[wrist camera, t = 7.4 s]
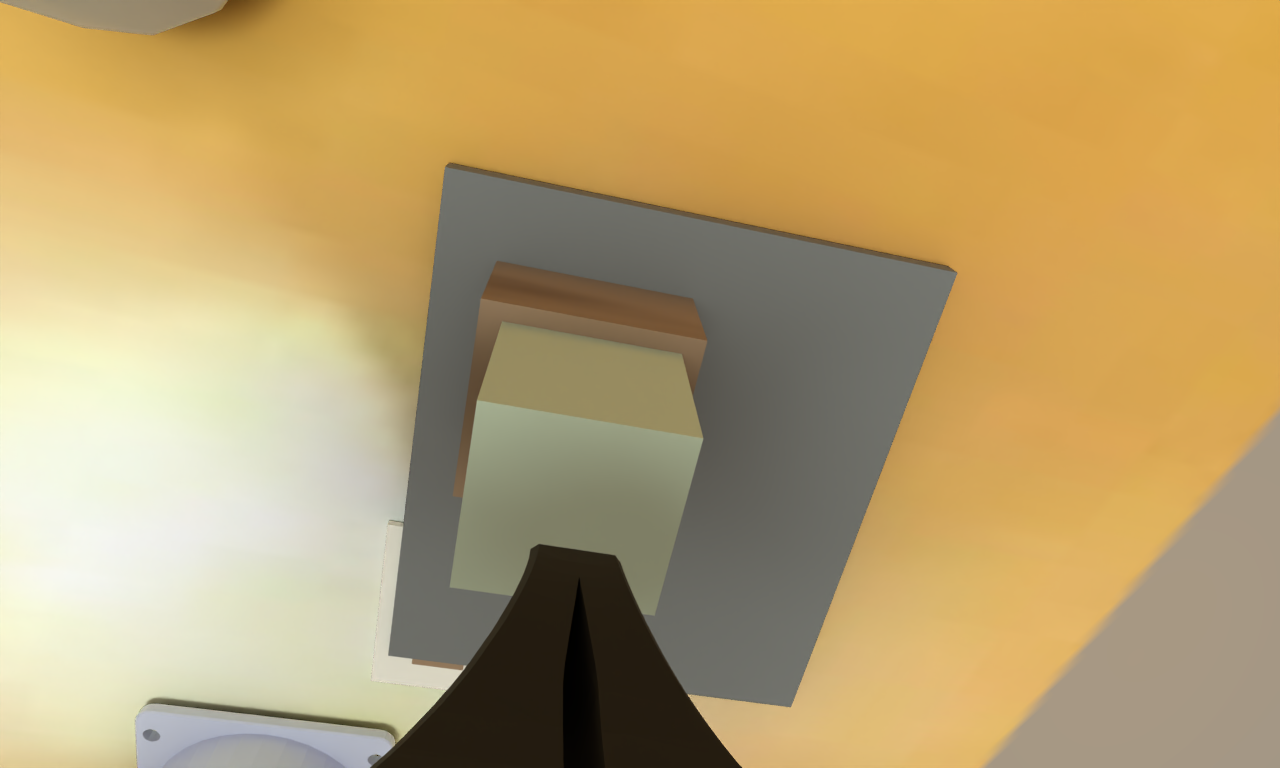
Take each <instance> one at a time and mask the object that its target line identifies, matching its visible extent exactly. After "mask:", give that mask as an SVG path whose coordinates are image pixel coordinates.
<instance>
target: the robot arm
mask: <svg viewBox="0 0 1280 768" xmlns="http://www.w3.org/2000/svg"><path fill="white" fill-rule="evenodd" d="M135 730H136V752H137V768H742V767H741V766H740V765H739V764H738V763H737V762H736V760H735V759H734V758H733V757H732V755H731V754H730V753H729V752H728V750H727V749H726V748H725V747H724V746H723V744H722V743H721V742H720V740H719V739H718V738H717V736H716V735H715V734H714V732H713V731H712V730H711V728H710V727H709V726H708V724H707V723H706V722H705V720H704V719H703V717H702V716H701V714H700V713H699V711H698V710H697V709H696V707H695V706H694V704H693V703H692V701H691V700H690V698H689V697H688V695H687V693H686V692H685V690H684V689H683V687H682V685H681V684H680V682H679V681H678V679H677V677H676V676H675V674H674V672H673V671H672V669H671V667H670V666H669V664H668V662H667V660H666V659H665V657H664V655H663V653H662V651H661V649H660V648H659V646H658V644H657V642H656V640H655V638H654V636H653V634H652V633H651V631H650V629H649V627H648V625H647V623H646V621H645V619H644V617H643V615H642V613H641V610H640V608H639V606H638V604H637V602H636V600H635V597H634V595H633V593H632V590H631V588H630V586H629V583H628V581H627V578H626V576H625V573H624V571H623V568H622V565H621V563H620V561H619V560H618V558H617V557H616V556H615V555H610V554H604V553H597V552H590V551H583V550H577V549H570V548H563V547H557V546H550V545H543V544H538V545H536V546H535V547H533V548H531V549H530V555H529V560H528V563H527V566H526V568H525V571H524V573H523V576H522V578H521V580H520V582H519V584H518V586H517V588H516V590H515V592H514V594H513V596H512V598H511V600H510V601H509V603H508V605H507V606H506V608H505V610H504V611H503V613H502V615H501V617H500V618H499V620H498V622H497V623H496V625H495V626H494V628H493V630H492V631H491V633H490V634H489V635H488V637H487V638H486V640H485V641H484V642H483V644H482V645H481V647H480V648H479V650H478V651H477V652H476V654H475V655H474V657H473V658H472V659H471V661H470V662H469V664H468V665H467V666H466V667H465V669H464V670H463V671H462V672H461V674H460V675H459V676H458V678H457V679H456V680H455V681H454V682H453V684H452V685H451V686H450V687H449V688H448V690H447V691H446V692H445V693H444V694H443V695H442V697H441V698H440V699H439V700H438V701H437V702H436V703H435V705H434V706H433V707H432V708H431V709H430V710H429V711H428V712H427V713H426V714H425V715H424V716H423V717H422V718H421V719H420V720H419V721H418V722H417V724H416V725H415V726H414V727H413V728H412V729H411V730H410V731H409V732H408V733H407V734H406V735H405V736H404V737H403V738H402V739H401V740H400V741H399V742H398V743H397V744H396V745H395V738H394V737H393V735H392V734H390V733H389V732H387V731H385V730H380V729H372V728H363V727H354V726H346V725H337V724H329V723H320V722H311V721H303V720H294V719H286V718H277V717H268V716H260V715H251V714H242V713H234V712H225V711H217V710H208V709H199V708H191V707H182V706H174V705H165V704H148V705H145V706H144V707H143V708H142V709H141V710H140V711H139V713H138V714H137V716H136V719H135ZM154 730H155V731H154ZM376 755H380V756H376Z"/></svg>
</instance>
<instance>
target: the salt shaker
mask: <svg viewBox="0 0 1280 768" xmlns="http://www.w3.org/2000/svg"><path fill="white" fill-rule="evenodd" d="M227 1H228V0H0V2H2V3H5V4H8V5H11V6H14V7H18V8H21V9H24V10H27V11H31V12H34V13H37V14H40V15H44V16H47V17H50V18H53V19H56V20H60V21H63V22H66V23H69V24H73V25H76V26H79V27H82V28H89V29H99V30H108V31H117V32H126V33H135V34H145V35H155V34H158V33H161V32H163V31H166V30H169V29H172V28H174V27H177V26H180V25H183V24H185V23H188V22H191V21H194V20H196V19H199V18H202V17H205V16H208V15H210V14H213V13H215V12H217V11H220V10H222V8H223V7H224V6H225V4H226V3H227Z"/></svg>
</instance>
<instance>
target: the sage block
mask: <svg viewBox="0 0 1280 768" xmlns="http://www.w3.org/2000/svg"><path fill="white" fill-rule="evenodd" d="M702 442H703V435H702V431H701V427H700V423H699V419H698V415H697V411H696V407H695V404H694V400H693V396H692V392H691V388H690V384H689V380H688V376H687V372H686V368H685V364H684V360H683V357H682V354H679V353H673V352H668V351H662V350H657V349H651V348H646V347H640V346H635V345H630V344H624V343H619V342H613V341H608V340H602V339H597V338H591V337H586V336H580V335H575V334H569V333H564V332H558V331H553V330H547V329H542V328H536V327H531V326H525V325H520V324H514V323H509V322H503V321H502V323H501V326H500V330H499V333H498V336H497V339H496V342H495V345H494V348H493V352H492V355H491V358H490V361H489V364H488V367H487V370H486V374H485V377H484V380H483V383H482V386H481V389H480V392H479V396H478V399H477V404H476V411H475V417H474V424H473V431H472V438H471V445H470V451H469V458H468V465H467V472H466V479H465V485H464V492H463V499H462V506H461V513H460V519H459V526H458V533H457V540H456V547H455V554H454V560H453V567H452V574H451V581H450V587H451V588H458V589H465V590H473V591H480V592H487V593H494V594H501V595H509V596H513V594H514V592H515V590H516V588H517V586H518V584H519V582H520V580H521V578H522V576H523V573H524V571H525V568H526V566H527V563H528V560H529V555H530V549H531V548H533V547H535V546H536V545H538V544H543V545H550V546H557V547H563V548H570V549H577V550H583V551H590V552H597V553H604V554H610V555H615V556H616V557H617V558H618V560H619V561H620V563H621V565H622V568H623V571H624V573H625V576H626V578H627V581H628V583H629V586H630V588H631V590H632V593H633V595H634V597H635V600H636V602H637V604H638V606H639V608H640V610H641V613H642V614H646V615H653V616H655V612H656V609H657V605H658V602H659V598H660V594H661V591H662V587H663V583H664V580H665V576H666V572H667V569H668V565H669V562H670V558H671V554H672V551H673V547H674V543H675V540H676V536H677V533H678V529H679V525H680V522H681V518H682V514H683V511H684V507H685V504H686V500H687V496H688V493H689V489H690V485H691V482H692V478H693V475H694V471H695V467H696V464H697V460H698V456H699V453H700V449H701V445H702Z"/></svg>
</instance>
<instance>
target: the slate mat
mask: <svg viewBox="0 0 1280 768" xmlns="http://www.w3.org/2000/svg"><path fill="white" fill-rule="evenodd" d="M496 261H501V262H506V263H512V264H517V265H522V266H527V267H532V268H537V269H543V270H548V271H553V272H558V273H563V274H568V275H574V276H579V277H584V278H589V279H594V280H600V281H605V282H610V283H615V284H620V285H625V286H631V287H636V288H641V289H646V290H651V291H656V292H662V293H667V294H672V295H677V296H682V297H687V298H693V300H694V303H695V306H696V309H697V312H698V315H699V318H700V321H701V324H702V326H703V329H704V332H705V335H706V338H707V345H706V348H705V352H704V356H703V360H702V363H701V367H700V371H699V375H698V378H697V382H696V386H695V390H694V394H693V400H694V404H695V407H696V411H697V415H698V419H699V423H700V427H701V431H702V435H703V442H702V445H701V449H700V453H699V456H698V460H697V464H696V467H695V471H694V475H693V478H692V482H691V485H690V489H689V493H688V496H687V500H686V504H685V507H684V511H683V514H682V518H681V522H680V525H679V529H678V533H677V536H676V540H675V543H674V547H673V551H672V554H671V558H670V562H669V565H668V569H667V572H666V576H665V580H664V583H663V587H662V591H661V594H660V598H659V602H658V605H657V609H656V612H655V616H653V615H646V614H642V615H643V617H644V619H645V621H646V623H647V625H648V627H649V629H650V631H651V633H652V634H653V636H654V638H655V640H656V642H657V644H658V646H659V648H660V649H661V651H662V653H663V655H664V657H665V659H666V660H667V662H668V664H669V666H670V667H671V669H672V671H673V672H674V674H675V676H676V677H677V679H678V681H679V682H680V684H681V685H682V687H683V689H684V690H685V692H686V693H687V694H692V695H699V696H707V697H715V698H723V699H731V700H738V701H746V702H754V703H762V704H770V705H778V706H785V707H791V706H792V703H793V701H794V698H795V695H796V693H797V690H798V687H799V685H800V682H801V680H802V677H803V674H804V672H805V669H806V667H807V664H808V661H809V659H810V656H811V654H812V651H813V648H814V646H815V643H816V640H817V638H818V635H819V633H820V630H821V627H822V625H823V622H824V620H825V617H826V614H827V612H828V609H829V607H830V604H831V601H832V599H833V596H834V594H835V591H836V588H837V586H838V583H839V580H840V578H841V575H842V573H843V570H844V567H845V565H846V562H847V560H848V557H849V554H850V552H851V549H852V547H853V544H854V541H855V539H856V536H857V533H858V531H859V528H860V526H861V523H862V520H863V518H864V515H865V513H866V510H867V507H868V505H869V502H870V500H871V497H872V494H873V492H874V489H875V487H876V484H877V481H878V479H879V476H880V473H881V471H882V468H883V466H884V463H885V460H886V458H887V455H888V453H889V450H890V447H891V445H892V442H893V440H894V437H895V434H896V432H897V429H898V427H899V424H900V421H901V419H902V416H903V413H904V411H905V408H906V406H907V403H908V400H909V398H910V395H911V393H912V390H913V387H914V385H915V382H916V380H917V377H918V374H919V372H920V369H921V366H922V364H923V361H924V359H925V356H926V353H927V351H928V348H929V346H930V343H931V340H932V338H933V335H934V333H935V330H936V327H937V325H938V322H939V320H940V317H941V314H942V312H943V309H944V306H945V304H946V301H947V299H948V296H949V293H950V291H951V288H952V286H953V283H954V280H955V278H956V275H957V272H956V271H954V270H953V269H951V268H950V267H948V266H944V265H939V264H934V263H930V262H925V261H920V260H915V259H910V258H906V257H901V256H896V255H891V254H886V253H881V252H877V251H872V250H867V249H862V248H857V247H853V246H848V245H843V244H838V243H833V242H828V241H824V240H819V239H814V238H809V237H804V236H800V235H795V234H790V233H785V232H780V231H775V230H771V229H766V228H761V227H756V226H751V225H747V224H742V223H737V222H732V221H727V220H722V219H718V218H713V217H708V216H703V215H698V214H693V213H689V212H684V211H679V210H674V209H669V208H665V207H660V206H655V205H650V204H645V203H640V202H636V201H631V200H626V199H621V198H616V197H612V196H607V195H602V194H597V193H592V192H587V191H583V190H578V189H573V188H568V187H563V186H559V185H554V184H549V183H544V182H539V181H534V180H530V179H525V178H520V177H515V176H510V175H505V174H501V173H496V172H491V171H486V170H481V169H477V168H472V167H467V166H462V165H457V164H452V163H449V164H448V165H447V166H446V167H445V172H444V181H443V189H442V198H441V206H440V215H439V224H438V232H437V241H436V249H435V258H434V266H433V275H432V283H431V292H430V301H429V309H428V318H427V326H426V335H425V343H424V352H423V361H422V369H421V378H420V386H419V395H418V403H417V412H416V421H415V429H414V438H413V446H412V455H411V463H410V472H409V481H408V489H407V498H406V506H405V515H404V523H403V532H402V541H401V549H400V558H399V566H398V575H397V583H396V592H395V600H394V609H393V618H392V626H391V635H390V643H389V652H388V656H394V657H402V658H410V659H418V660H426V661H433V662H441V663H449V664H457V665H465V666H467V665H468V664H469V662H470V661H471V659H472V658H473V657H474V655H475V654H476V652H477V651H478V650H479V648H480V647H481V645H482V644H483V642H484V641H485V640H486V638H487V637H488V635H489V634H490V633H491V631H492V630H493V628H494V626H495V625H496V623H497V622H498V620H499V618H500V617H501V615H502V613H503V611H504V610H505V608H506V606H507V605H508V603H509V601H510V600H511V598H512V596H509V595H501V594H494V593H487V592H480V591H473V590H465V589H458V588H451V587H450V581H451V574H452V567H453V560H454V554H455V547H456V540H457V533H458V526H459V519H460V513H461V506H462V499H463V498H461V497H455V496H453V490H454V483H455V476H456V469H457V462H458V455H459V448H460V441H461V434H462V427H463V420H464V413H465V406H466V399H467V392H468V385H469V378H470V371H471V364H472V357H473V350H474V343H475V336H476V329H477V322H478V315H479V308H480V301H481V297H482V295H483V292H484V290H485V288H486V285H487V283H488V280H489V278H490V276H491V273H492V271H493V269H494V266H495V264H496Z"/></svg>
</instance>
